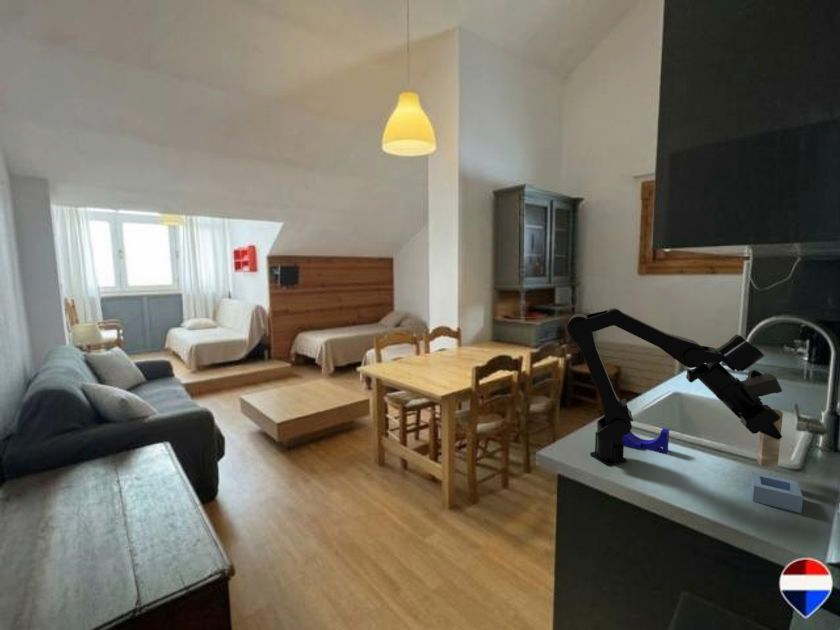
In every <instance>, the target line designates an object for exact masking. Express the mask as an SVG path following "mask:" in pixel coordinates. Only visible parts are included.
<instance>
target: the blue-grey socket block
mask: <svg viewBox="0 0 840 630" xmlns="http://www.w3.org/2000/svg"><path fill="white" fill-rule="evenodd" d="M750 473H751V476H750V486H749V487H750V492H751V498H752V500H751V501H752V502H755V503H759V504H763V505H767V506H771V507H775V508H779V509H783V510H787V511H790V512H793V513H799V514H802V510H803V509H802V508H803V501H804V496H803V493H802V491H801V488H800V485H799V483H798V481H795V480H791V479H787V478H782V477H777V476H773V475H769V474H763V473H760V472H754V471H751V472H750Z"/></svg>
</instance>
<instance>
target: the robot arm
mask: <svg viewBox="0 0 840 630" xmlns="http://www.w3.org/2000/svg"><path fill="white" fill-rule="evenodd" d="M566 325H567V326H566V328H567V332H568V334H569V336H570V337H571V339H572V341H573V342H574V343H575V345H576V346H577V348H578V349H579V350H580V352H581V354H582V357H583V358H584V361H585V363H586V365H587V368H588V371H589V373H590V376H591V378H592V380H593V383H594V385H595V388H596V391H597V393H598V395H599V398H600V400H601V404H602V410H603V414H604V416H602V417H601V418H599V419H598V420H597V422H596V429H597V431H595V437H594V438H595V440H594V442H595V443H594V451H592V452H589V455H590V456H592V457H593V458H595V459H596V460H597V461H600V462H602V463H603V464H605V465H606V466H611V465H615V464H620V463H621V464H622V463H625V462H627V461H628V459H627V458H626V457H624V448H625V446H623V439H622V438H623V436H624V435H627V434H628V433H629V432H630V431H631V430H632V429H633V428H632V427H633V426H632V422H634V417H633V415H632V410H630V409H629V408H628V403H627V400H626V398H622V399H620V398H619V397H618V395H617V394H616V392H615V390H614V387H613V384H612V382H611V379H610V377H609V375H608V372H607V370H606V367H605V365H604V362H603V359H602V358H601V355H600V353H599V350H598V348H597V345H596V340H595V335H594V332H597V331H600V330H603V329H607V328H609V327H613V326H615V327H616V328H619V329H621V330H624V331H625V332H627V333H629V334H630V335H633V336H635V337H638V338H639V339H642V340H643V341H645V342H648V343H650V344H652V345H654V346H655V347H658V348H659V349H661V350H662V351H663V352H665V354H666V353H667V354H668V355H669V356H670V357H672V358H673V359H674V360H675V361H677V362H679V363H680V364H681V365H683V366H684V367H686V370H685V371H686V376H685V379H687V380H688V382H689V383H690V384H691V383H693V382H695V381H696V380H699V381H700V382H701V383H702V384H703V385H704V386H705V387H706V388H707V389H708V390H710V392H712V394H714V396H716V398H717V399H718V400H720V401H721V402H722V403H723V404H724V406H725V407H727V408H728V410H729V411H731V412H732V413H733V414H734V415H735V416H736V417H737V418H738V419H739V420H740V423H742V425H743V426H744V427H745V428H746V429H747V430H748V431H749V432H750V433H751V434H753V435H754V434H758V433H760V432H761V433H764V434H766V435H768V436H771V437H773V438H775V439H780V440H781V439H782V438H783V435H782V433H781V434H780V432H779V431H778V430H777V428H776V427H775V425H774V424H773V423H774V422H776V421H778V420H779V419H780V416H779V415H778V414H777V413H776V412H775V411H774V410H773V409H774V408H771V407H770V406H769V405H768V404H764V403H763V401H761V400H762V399H761V397H764V396H768V395H771V394H772V395H773V394H780V393H782V392H783V389H782V387H781V384H780V382H779V381H778V379H777V377H776V376H774V375H773V374H772V373H767V372H764V373H761V371H758V370H757V369H751V370H749V371H748V372H747V373H748V374H747V377H746V378H745V379H744V380H740V379H739V378H738V377H735V376H734V375H733V374H732V373H730V372H729V370H727V368H729V369H730V371H731V372H734V371H737V372H740V373H741V372H744V371H746V370H747V369H748V368H750V367H751V366H752V365H754V364H756V363H758V362H759V361H760V360H762V359H764V358H765V354H764V353H762V351H760V349H758V347H756V346H755V345H752V344H751V343H750V342H748V341H747V340H746V339H744V337H742V335H739V334H735V335H734V336H732V337H730V339H729V340H728V341H727V342H725V343H724V344H723V345H721V346H720V347H718V348H717V349H716V348H715V347H714V346H707V345H701V344H699V343H698V342H697V341H695V340H693V339H690V338H686V337H683V336H679V335H675V334H671V333H669V332H665V331H663V330H661V329H659V328H656V327H654V326H653V325H651V324H649V323H646V322H643V321H642V320H640V319H637V318H636V317H634V316H631V315H629V314H627V313H625V312H623V311H622V310H620V309H619V308H617V307H613V308H609V309H606V310H603V311H597V312H591V313H588V314H584V313H577V314H573V315H572V316H571V317H570V318H569V320H568V322H567V324H566ZM721 363H723V364H724V365H725V366H727V368H726V367H724V365H722V364H721Z"/></svg>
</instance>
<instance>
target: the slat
mask: <svg viewBox="0 0 840 630" xmlns="http://www.w3.org/2000/svg"><path fill="white" fill-rule="evenodd" d="M772 409H773V410H774V411H775V412H776V413H777V414H778V415H779V416H780V419H779V420H778V421H776V422H774V423H773V424H774V425H775V427H776V428H777V430H778V431H779V432H780V434H781V435H782V426H783V425H782V424H783V417H784V416H783V415H784V412H782V411H781V410H780V409H775V408H772ZM780 446H781V438H780V439H775V438H773V437H771V436H768V435H766V434H764V433H761V432H759V443H758V455H757V463H758V464H759V466H761V467H762V466H763V467H770V468H776V469H778V466H779V456H780Z"/></svg>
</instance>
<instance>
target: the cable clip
mask: <svg viewBox="0 0 840 630" xmlns="http://www.w3.org/2000/svg"><path fill="white" fill-rule="evenodd" d="M622 439H623V446H624V447H627V448H631V447H632V449H635V448H636V449H635V450H641V449H643V450H648V451H653V452H657V453H661V454H664V455H666V454H667V453H668V451H669V441H670V429H669V428H666V427H665V428H664V427H663V428H661V431H660V434H659V436H657V437H655V438H654V439H644V438H640V437H639V436H636V435H635V434H634V433H633V432H632V431H631V430H630V432H629V433H628V434H627V435H624V436H623V438H622Z"/></svg>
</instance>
